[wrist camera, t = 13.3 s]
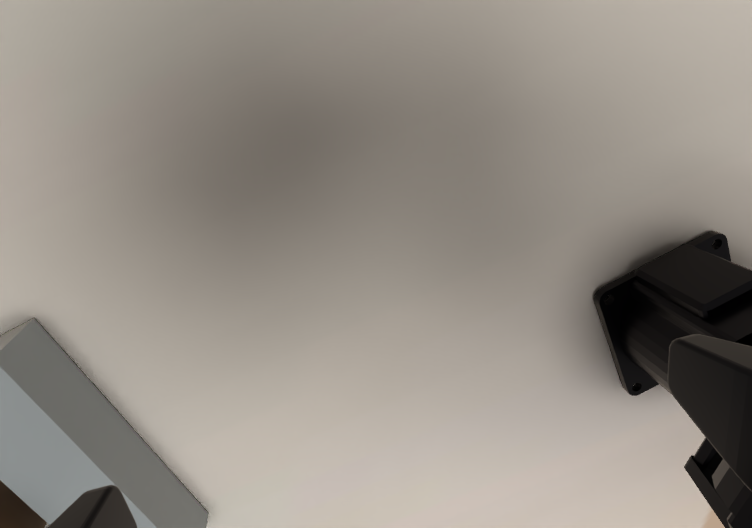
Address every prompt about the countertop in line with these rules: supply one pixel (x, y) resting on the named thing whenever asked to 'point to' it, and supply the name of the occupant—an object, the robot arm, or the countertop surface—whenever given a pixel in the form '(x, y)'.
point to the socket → (76, 439)
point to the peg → (17, 511)
